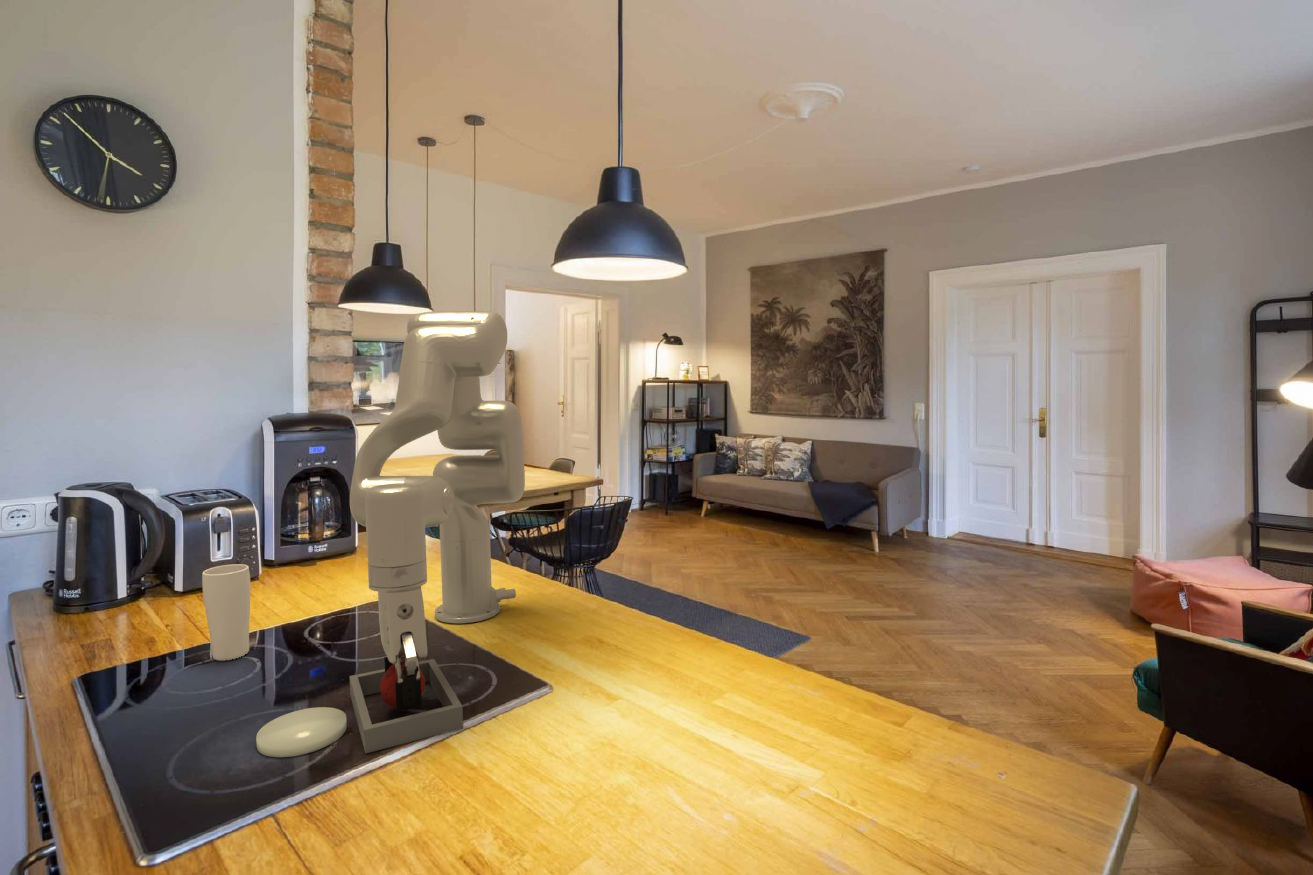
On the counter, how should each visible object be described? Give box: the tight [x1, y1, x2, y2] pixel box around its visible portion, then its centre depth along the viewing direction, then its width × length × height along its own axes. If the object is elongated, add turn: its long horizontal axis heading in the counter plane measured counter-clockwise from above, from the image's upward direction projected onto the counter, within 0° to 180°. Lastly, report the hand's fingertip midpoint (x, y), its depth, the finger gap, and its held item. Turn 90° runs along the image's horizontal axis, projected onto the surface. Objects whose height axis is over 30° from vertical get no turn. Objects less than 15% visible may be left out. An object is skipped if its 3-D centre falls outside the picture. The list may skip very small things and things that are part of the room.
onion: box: [380, 655, 426, 713], centre depth 93 cm, size 6×6×8 cm
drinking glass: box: [201, 563, 251, 662], centre depth 113 cm, size 7×7×15 cm
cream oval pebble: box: [255, 706, 348, 758], centre depth 87 cm, size 10×10×1 cm
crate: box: [348, 658, 464, 754], centre depth 93 cm, size 12×18×3 cm, turn 30°
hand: (403, 694), depth 93 cm, fingers open, 9 cm apart
